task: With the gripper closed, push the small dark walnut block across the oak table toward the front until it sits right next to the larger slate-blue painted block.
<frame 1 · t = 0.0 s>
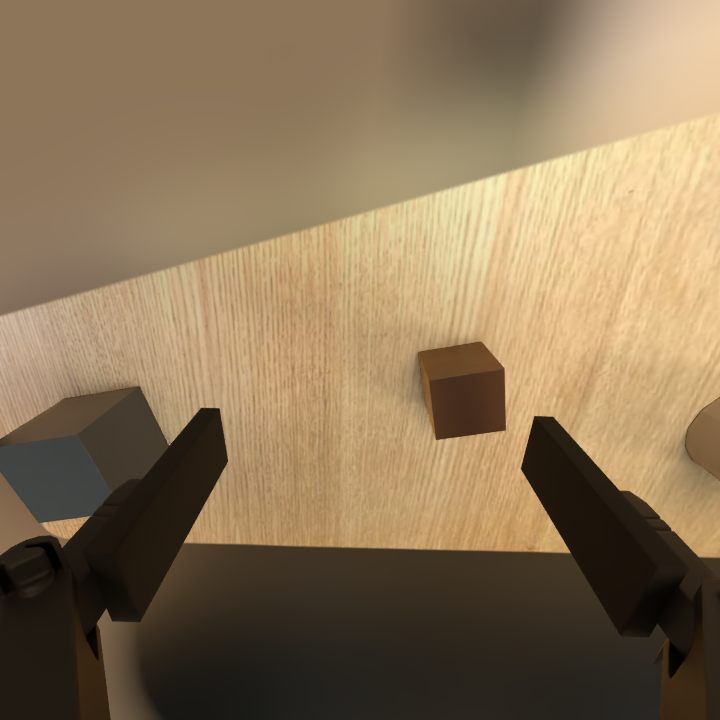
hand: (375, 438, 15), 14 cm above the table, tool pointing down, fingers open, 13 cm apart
slate block: (119, 426, 31), on the table
walnut block: (452, 374, 29), on the table
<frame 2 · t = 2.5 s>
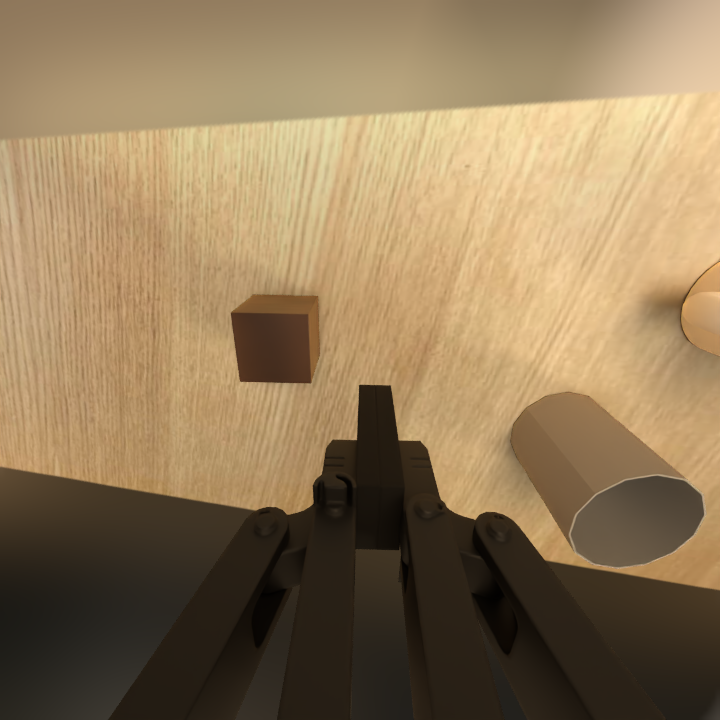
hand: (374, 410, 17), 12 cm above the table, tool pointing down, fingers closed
mug: (708, 297, 27), on the table
cup: (556, 431, 32), on the table
walnut block: (287, 326, 28), on the table
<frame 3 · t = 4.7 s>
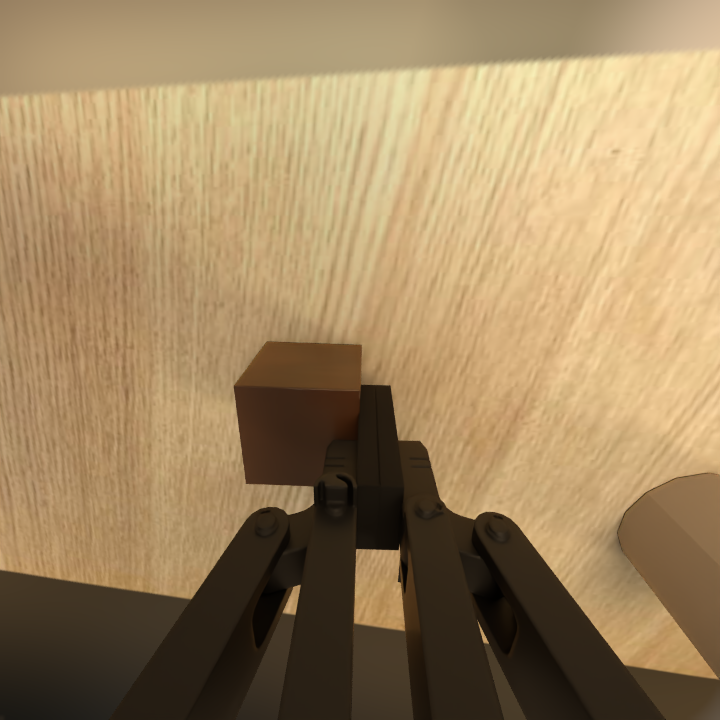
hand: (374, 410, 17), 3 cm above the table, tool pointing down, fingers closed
cup: (681, 520, 23), on the table
walnut block: (315, 385, 19), on the table, touching gripper
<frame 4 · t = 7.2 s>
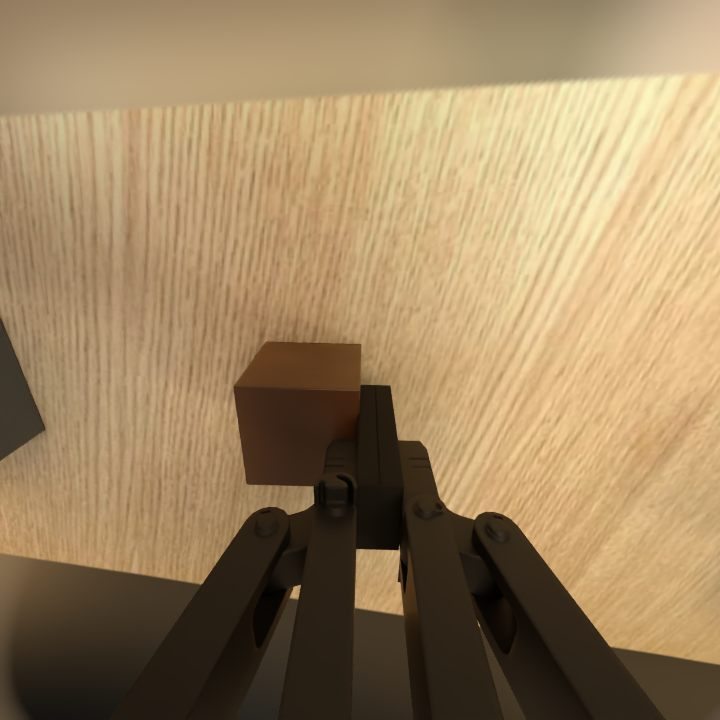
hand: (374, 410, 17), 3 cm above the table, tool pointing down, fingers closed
walnut block: (314, 385, 19), on the table, touching gripper
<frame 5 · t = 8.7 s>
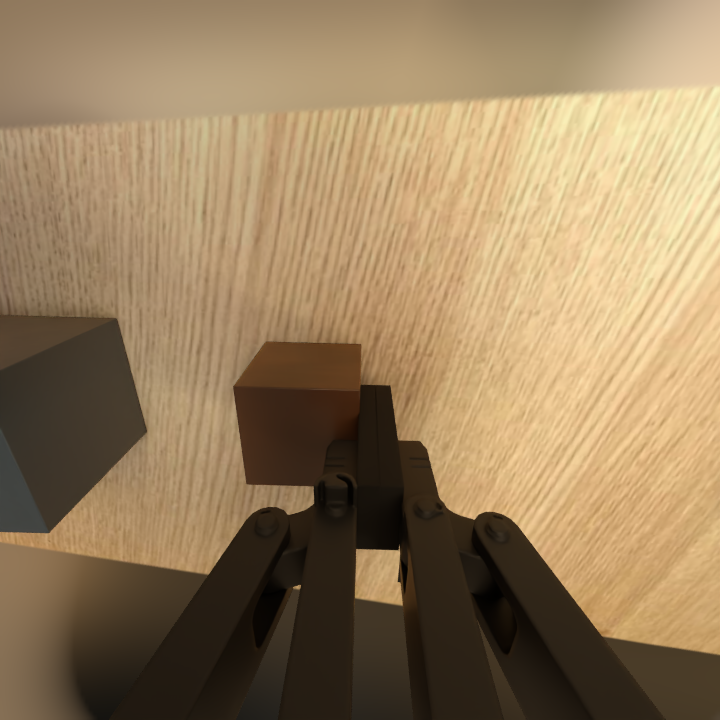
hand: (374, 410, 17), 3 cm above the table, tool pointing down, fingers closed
slate block: (69, 377, 19), on the table
walnut block: (314, 385, 19), on the table, touching gripper
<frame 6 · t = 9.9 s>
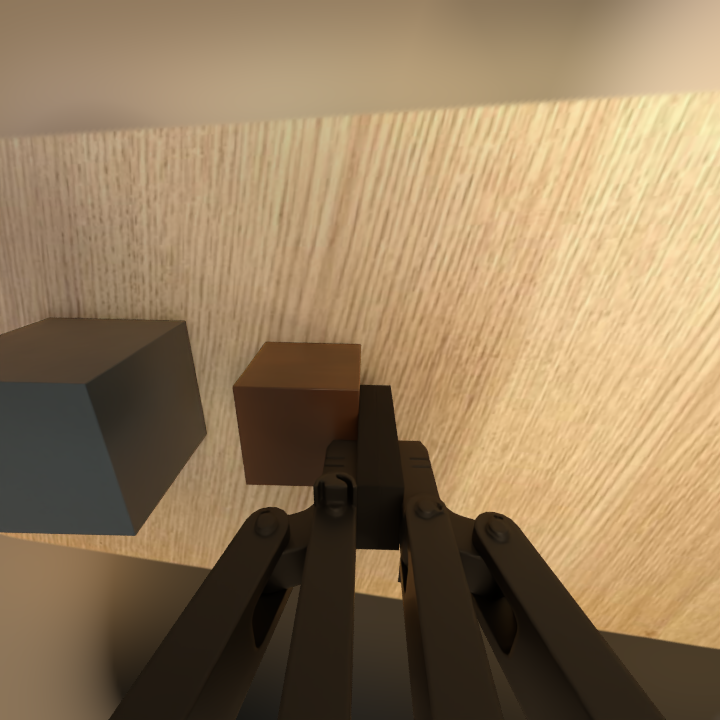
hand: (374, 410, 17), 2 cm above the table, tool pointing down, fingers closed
slate block: (133, 379, 19), on the table
walnut block: (314, 385, 19), on the table, touching gripper
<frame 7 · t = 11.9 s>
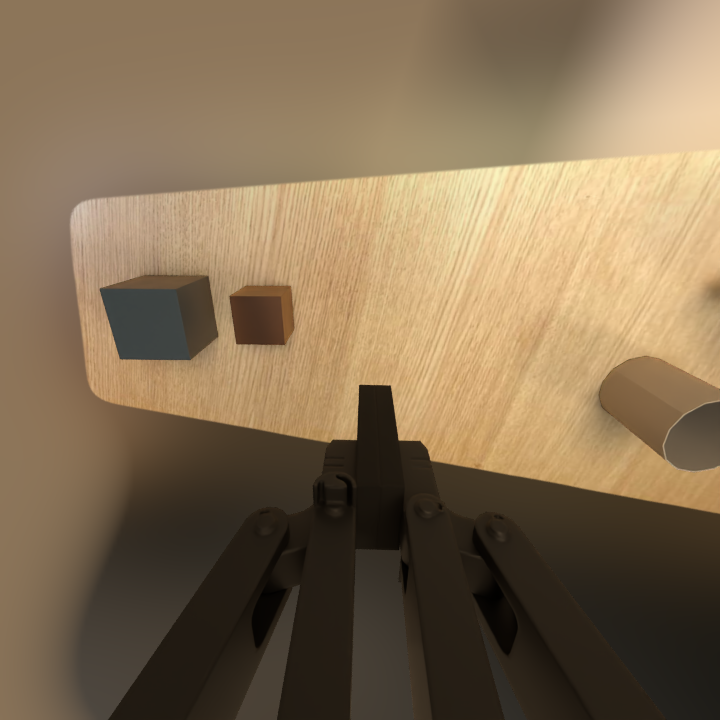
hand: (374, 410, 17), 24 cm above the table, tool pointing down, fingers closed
slate block: (182, 306, 39), on the table
cup: (634, 387, 42), on the table
walnut block: (270, 308, 39), on the table
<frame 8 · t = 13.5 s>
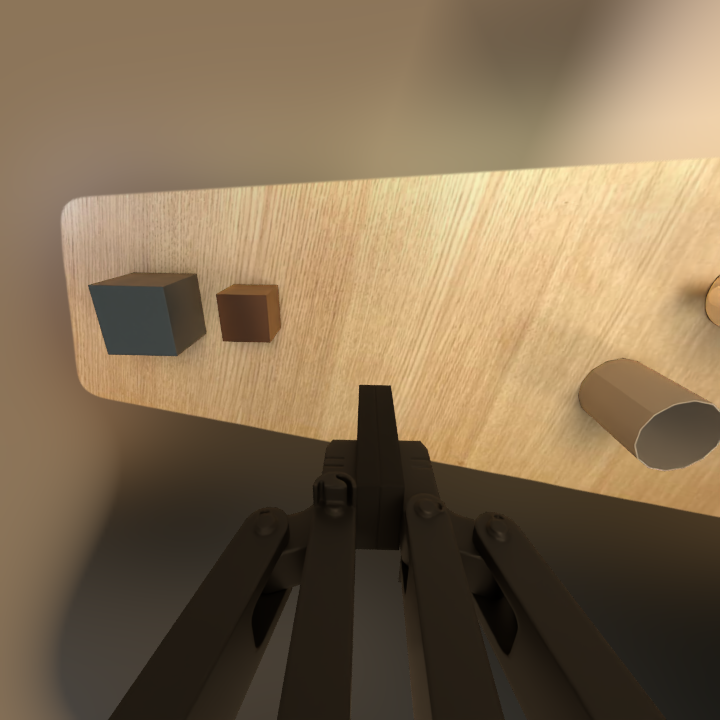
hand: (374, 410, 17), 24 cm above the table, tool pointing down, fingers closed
slate block: (171, 304, 40), on the table
cup: (612, 388, 44), on the table
walnut block: (257, 306, 40), on the table
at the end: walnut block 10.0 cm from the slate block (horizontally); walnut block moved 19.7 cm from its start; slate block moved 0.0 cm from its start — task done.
